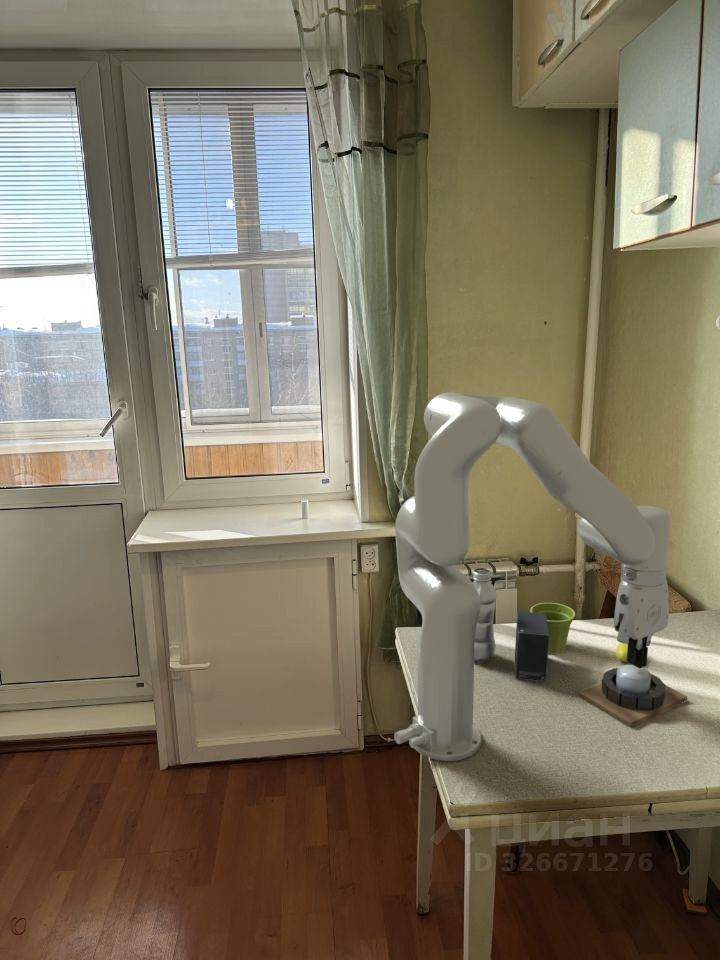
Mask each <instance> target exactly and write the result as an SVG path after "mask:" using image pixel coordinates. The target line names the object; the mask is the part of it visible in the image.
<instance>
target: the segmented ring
mask: <svg viewBox="0 0 720 960" xmlns="http://www.w3.org/2000/svg"><path fill="white" fill-rule="evenodd" d="M618 668H619V667H614V668H612V669H609V670H607V671H605V672H604V674H603V676H602V678H601V683H602V689H601V690H602V693H603V694H604V696H605V697H606V699H607V700H609V701H611V702H613V703H614V704H616V705H618V706H620V705H621V707H624V708H628V709H632V710H636V709H637V711H645V710H654V709H656V708H658V707H661V706H662V705H663V703H664V698H665V689H666V686H667V685H666V684H665V683H664V682H663V681H662V679H661V677H658V676H657V675H655V674H653V673H651V672H650V674H651V681H650V691H651V692H650V693H646V694H635V693H631V692H627V691H624V690H622V689H620V688H618V687H616V686H615V685H616V678H617V669H618ZM665 685H666V686H665Z"/></svg>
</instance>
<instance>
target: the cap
mask: <svg viewBox="0 0 720 960" xmlns="http://www.w3.org/2000/svg"><path fill="white" fill-rule="evenodd" d="M617 668H618V669H617V678H616V687H618V688H620V689H622V690H624V691H627V692H631V693H635V694H646V693H650V681H651V674H652V673H651V672H650V671H649V670H648V669H646V668H644V667H642V668H638V667H636V666H634V665H632V664H623V665H620V666H618V667H617ZM650 673H651V674H650Z"/></svg>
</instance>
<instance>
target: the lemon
mask: <svg viewBox="0 0 720 960" xmlns="http://www.w3.org/2000/svg"><path fill="white" fill-rule="evenodd" d="M627 650H628V644H623V643H621V642H619V644H618V645H617V647H616V650H615V655H616V659H618V660H619V661H621V662H627Z"/></svg>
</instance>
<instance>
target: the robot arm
mask: <svg viewBox="0 0 720 960" xmlns="http://www.w3.org/2000/svg"><path fill="white" fill-rule="evenodd" d="M423 423H424V427H425V430H426V431H427V433H428V434H429V435H430V436H431V438H430V439H429V441H427V443H426V444H425V446H424V447H423V449H422V450H421V453H420V454H419V456H418V459H417V461H416V464H415V469H414V477H413V478H414V479H413V480H414V496H411V497H409V498H408V499H407V500H405V502H404V503H403V504H402V505H401V507H400V508H399V511H397V512H398V513H397V514H396V518H395V524H394V525H395V526H394V527H395V546H396V559H397V568H398V569H397V571H398V572H397V573H398V579H399V583H400V588H401V590H402V591H403V594H404V595H405V596H406V597H407V599H408V600H409V601H411V603H413V605H414V606H415V608H416V609H417V610H418V611H419V613H420V614H421V617H422V619H421V620H422V624H421V629H420V631H419V634H418V640H417V715H415V716H412V724H409V726H408V728H405V729H402V730H399V731H396V732H394V735H393V737H394V740H395V743H396V745H397V744H398V745H400V744H403V743H405V742H409V743H408V744H409V746H410V748H412V749H414V750H415V751H416V752H418V753H419V754H421V755H423V756H424V757H427V758H428V759H431V760H436V761H440V762H441V761H442V762H454V761H460V760H464V759H467V758H469V757H471V756H473V755H474V754H476V753H477V752H478V751H479V750H480V747H481V745H482V732H481V730H480V728H479V726H478V725H476V724H475V723H474V688H475V686H474V684H475V683H474V682H475V679H474V678H475V677H474V676H475V660H474V644H475V633H476V627H477V622H478V618H479V614H480V597H479V594H478V591H477V589H476V587H475V586H474V584H473V581H472V580H471V579H470V578H469V577H468V576H466V575H465V574H464V573H463V572H462V571H460V570H459V569H458V568H457V567H456V565H458V564H459V563H461V562H462V560H463V561H464V559H465V557H466V556H467V554H468V551H469V548H470V545H471V544H470V543H471V532H470V531H471V529H470V528H471V527H470V526H471V525H470V515H469V514H470V512H469V509H470V508H469V482H470V481H469V480H470V479H469V478H470V475H471V473H472V469H473V468H474V466H475V465H476V463H477V462H478V461H479V460H480V458H482V456H483V455H484V454H485V453H486V452H488V450H490V449H491V448H492V447H493V446H494V445H502V446H504V447H508V448H509V449H512V450H513V451H514V452H515V453H517V455H518V456H519V457H520V458H521V459H522V461H523V462H524V464H526V466H527V468H528V469H529V470H530V472H531V473H532V474H533V475H534V476H535V478H537V481H539V483H540V484H541V486H542V487H543V488H544V489H545V491H546V493H548V494H549V495H550V496H551V497H552V498H553V499H554V500H556V501H557V502H558V503H560V504H561V505H563V506H564V507H565V508H567V509H569V510H570V511H572V512H573V513H575V514H577V515H578V516H579V517H580V519H579V522H578V524H577V533H578V536H579V538H580V539H581V541H582V542H583V543H584V544H585V545H587V546H589V547H590V548H592V549H594V550H596V551H598V552H599V553H602V554H604V555H605V556H608V557H609V558H611V559H613V560H616V561H617V562H618V563H621V571H620V582H619V585H618V590H617V595H616V600H615V607H614V617H613V618H614V620H613V622H614V623H613V626H614V627H613V628H614V631H616V632H617V637H616V641H617V642H619V643H623V644H628V650H627V661H626V662H627V663H628V664H629V665H634V666H636V667H638V668H644V667H646V666H647V664H648V651H649V647H650V645H651V642H652V637H653V635H655V634H656V633H658V632H660V631H662V630H665V629H666V628H667V627H668V625H669V614H670V613H669V612H670V611H669V610H670V608H669V607H670V605H669V604H670V603H669V602H670V599H669V598H670V596H669V595H670V594H669V593H670V592H669V585H668V580H667V578H666V577H667V566H668V563H667V562H668V561H667V560H668V554H669V540H670V530H671V529H670V527H671V517H670V514H669V512H667V511H666V509H663V508H661V507H656V506H653V505H637V506H636V504H635V503H634V502H633V501H631V499H630V498H629V497H628V496H626V494H625V493H624V492H622V491H621V489H619V488H618V487H617V486H616V485H615V484H614V483H613V482H612V481H610V479H608V477H607V476H605V474H604V473H602V472H601V471H600V470H599V469H598V468H597V467H595V466H594V464H592V462H591V461H590V460H589V459H588V457H587V456H586V455H585V454H584V452H583V450H581V448H580V447H579V445H578V444H577V442H576V441H575V440H574V438H573V437H572V435H571V434H570V433H569V432H568V430H567V428H565V425H564V424H562V422H561V421H560V419H559V418H558V416H557V415H556V413H555V412H553V410H551V409H550V408H549V407H548V406H546V405H545V404H543V403H540V402H537V401H534V400H533V401H532V400H528V399H523V398H519V397H511V396H499V395H498V396H496V395H484V394H474V393H463V392H462V393H461V392H453V391H450V392H448V391H447V392H443V393H440V394H438V395H436V396H435V397H433V398H432V399H431V400H430V401H429V402H428V404H427V405H426V407H425V409H424V414H423Z"/></svg>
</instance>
